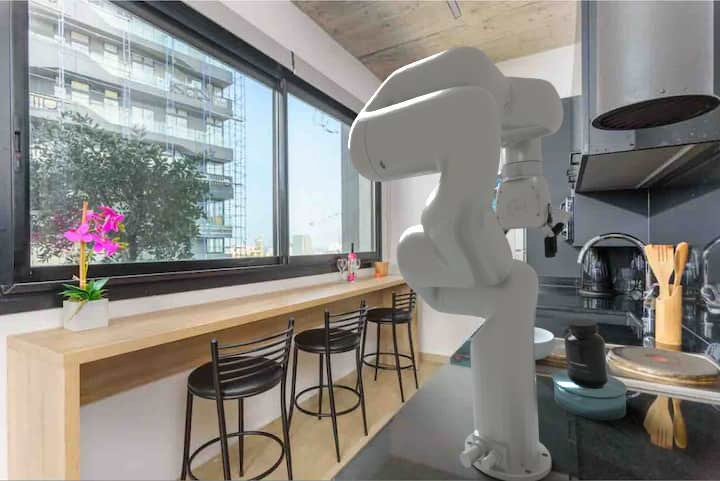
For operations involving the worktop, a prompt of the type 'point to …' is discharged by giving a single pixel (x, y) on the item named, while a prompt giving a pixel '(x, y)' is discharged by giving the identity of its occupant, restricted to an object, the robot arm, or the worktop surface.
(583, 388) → the biscuit tin
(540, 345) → the cereal bowl
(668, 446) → the worktop surface
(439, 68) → the robot arm
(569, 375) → the supplement bottle
